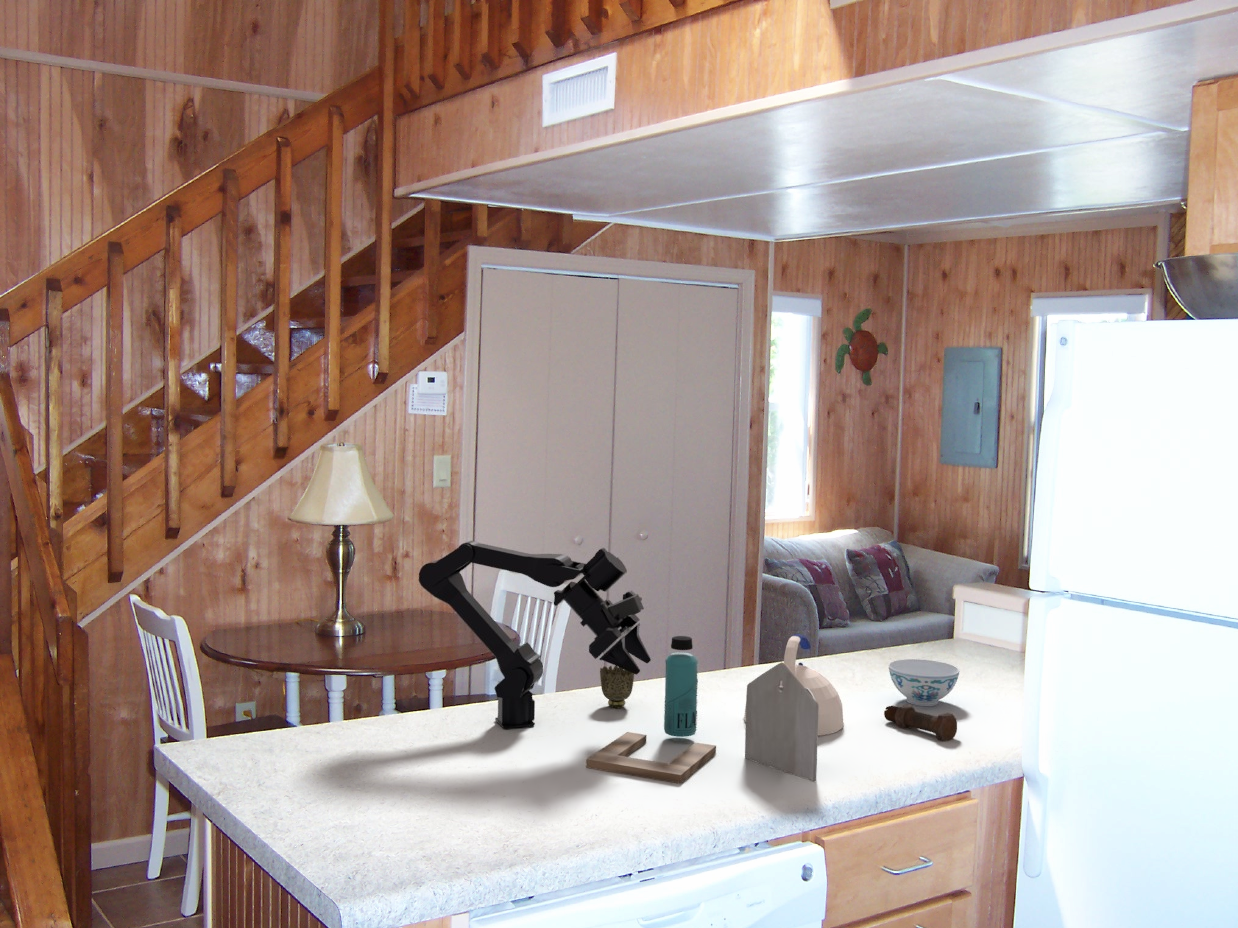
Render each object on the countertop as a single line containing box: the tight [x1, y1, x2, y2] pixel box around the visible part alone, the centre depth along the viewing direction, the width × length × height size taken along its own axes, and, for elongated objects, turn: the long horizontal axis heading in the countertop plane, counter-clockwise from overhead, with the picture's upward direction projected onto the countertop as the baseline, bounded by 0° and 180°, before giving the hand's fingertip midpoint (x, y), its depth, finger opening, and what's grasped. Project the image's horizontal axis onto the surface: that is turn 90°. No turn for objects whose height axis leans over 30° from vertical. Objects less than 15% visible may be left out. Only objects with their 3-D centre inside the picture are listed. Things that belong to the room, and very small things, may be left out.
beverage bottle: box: [663, 635, 699, 738], centre depth 218 cm, size 6×7×20 cm
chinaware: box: [888, 658, 960, 707], centre depth 248 cm, size 15×15×8 cm
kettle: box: [743, 634, 845, 737], centre depth 231 cm, size 20×21×18 cm
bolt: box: [883, 704, 958, 742], centre depth 227 cm, size 6×5×15 cm
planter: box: [744, 662, 819, 782], centre depth 204 cm, size 16×8×19 cm, turn 42°
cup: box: [599, 665, 635, 709], centre depth 240 cm, size 8×7×8 cm
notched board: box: [585, 731, 717, 785], centre depth 206 cm, size 18×18×2 cm
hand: (644, 667), depth 220 cm, fingers open, 9 cm apart
